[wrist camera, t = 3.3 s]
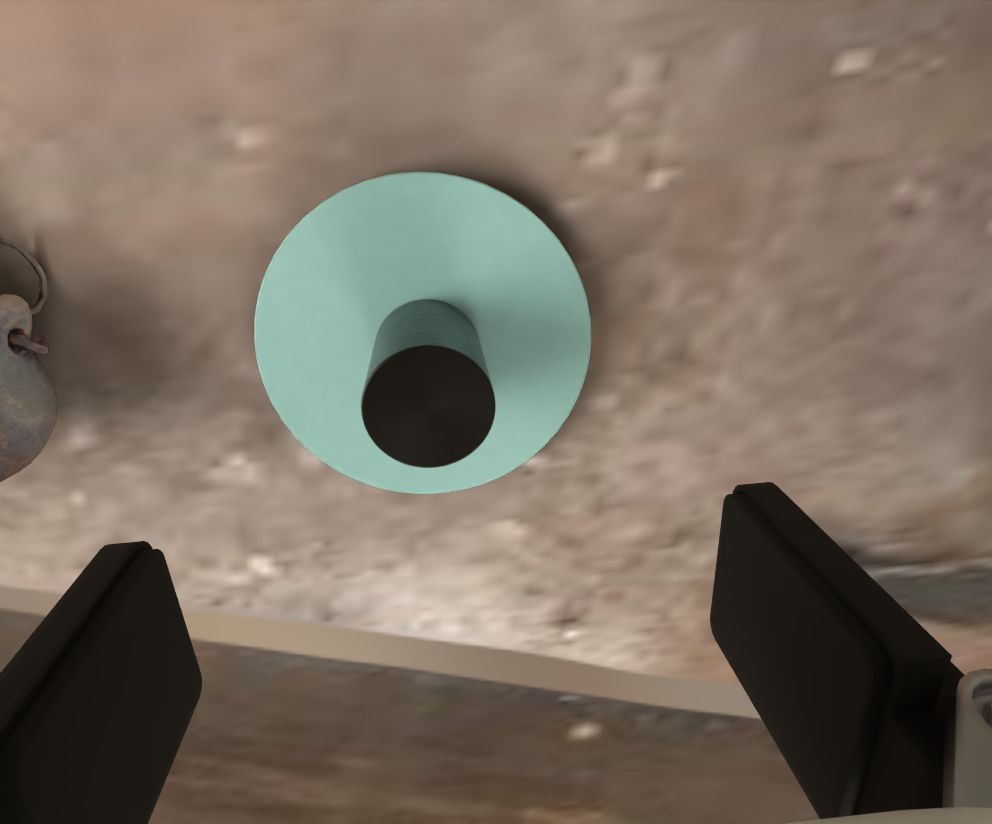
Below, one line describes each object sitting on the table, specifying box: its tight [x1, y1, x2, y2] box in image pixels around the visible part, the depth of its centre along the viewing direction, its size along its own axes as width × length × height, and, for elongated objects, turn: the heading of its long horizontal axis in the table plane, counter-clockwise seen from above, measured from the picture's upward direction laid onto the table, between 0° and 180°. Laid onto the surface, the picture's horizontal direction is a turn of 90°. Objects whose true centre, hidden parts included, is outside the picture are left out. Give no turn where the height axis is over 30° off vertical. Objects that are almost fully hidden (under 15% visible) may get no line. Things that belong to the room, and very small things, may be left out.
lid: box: [254, 171, 591, 494], centre depth 19 cm, size 11×11×6 cm
